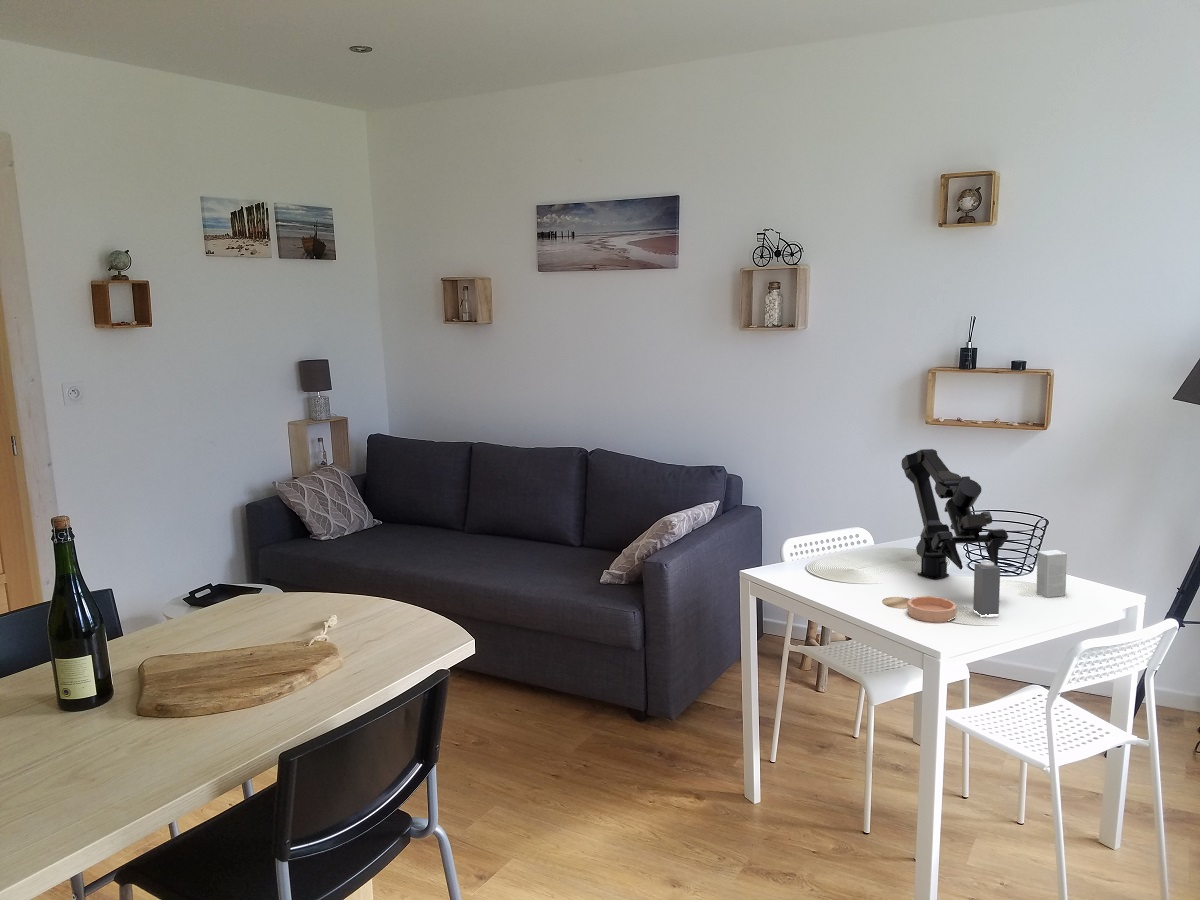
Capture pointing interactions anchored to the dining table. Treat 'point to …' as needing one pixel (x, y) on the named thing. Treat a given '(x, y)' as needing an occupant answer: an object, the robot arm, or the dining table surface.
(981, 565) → the canister
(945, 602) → the ring dish
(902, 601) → the cork coaster
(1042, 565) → the skincare box
